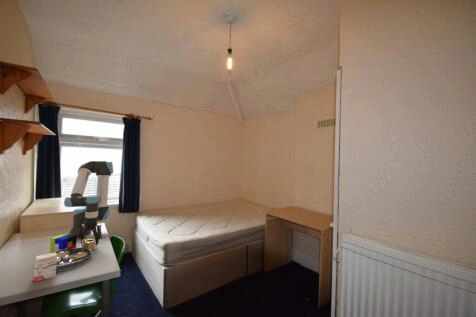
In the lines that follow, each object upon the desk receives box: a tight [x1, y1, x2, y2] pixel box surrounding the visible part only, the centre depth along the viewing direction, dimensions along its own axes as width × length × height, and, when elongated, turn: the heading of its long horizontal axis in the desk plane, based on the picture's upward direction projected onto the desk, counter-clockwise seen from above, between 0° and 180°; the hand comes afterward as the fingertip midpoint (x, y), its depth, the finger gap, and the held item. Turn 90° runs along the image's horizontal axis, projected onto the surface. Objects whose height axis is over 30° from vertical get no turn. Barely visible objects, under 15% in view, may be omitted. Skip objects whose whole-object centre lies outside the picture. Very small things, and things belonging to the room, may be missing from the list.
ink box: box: [32, 252, 57, 283], centre depth 111 cm, size 9×5×12 cm, turn 139°
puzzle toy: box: [49, 233, 78, 253], centre depth 145 cm, size 10×10×10 cm
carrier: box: [53, 247, 93, 273], centre depth 129 cm, size 26×26×6 cm
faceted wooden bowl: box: [81, 238, 95, 252], centre depth 148 cm, size 8×8×6 cm
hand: (89, 248), depth 148 cm, fingers closed on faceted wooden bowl, 8 cm apart
